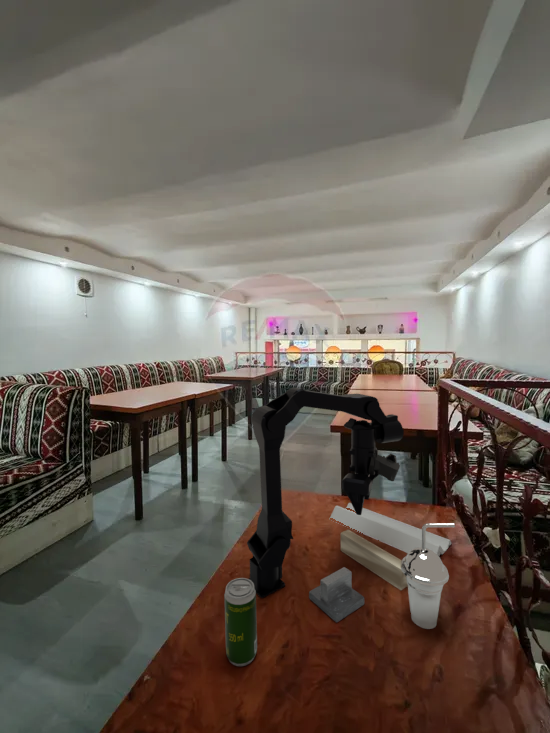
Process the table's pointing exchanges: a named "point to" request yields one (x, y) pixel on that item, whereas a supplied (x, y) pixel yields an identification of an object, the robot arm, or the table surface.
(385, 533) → the crown molding
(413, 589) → the cup with straw
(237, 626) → the beer can
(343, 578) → the fulcrum
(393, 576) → the batten
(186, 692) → the table surface
